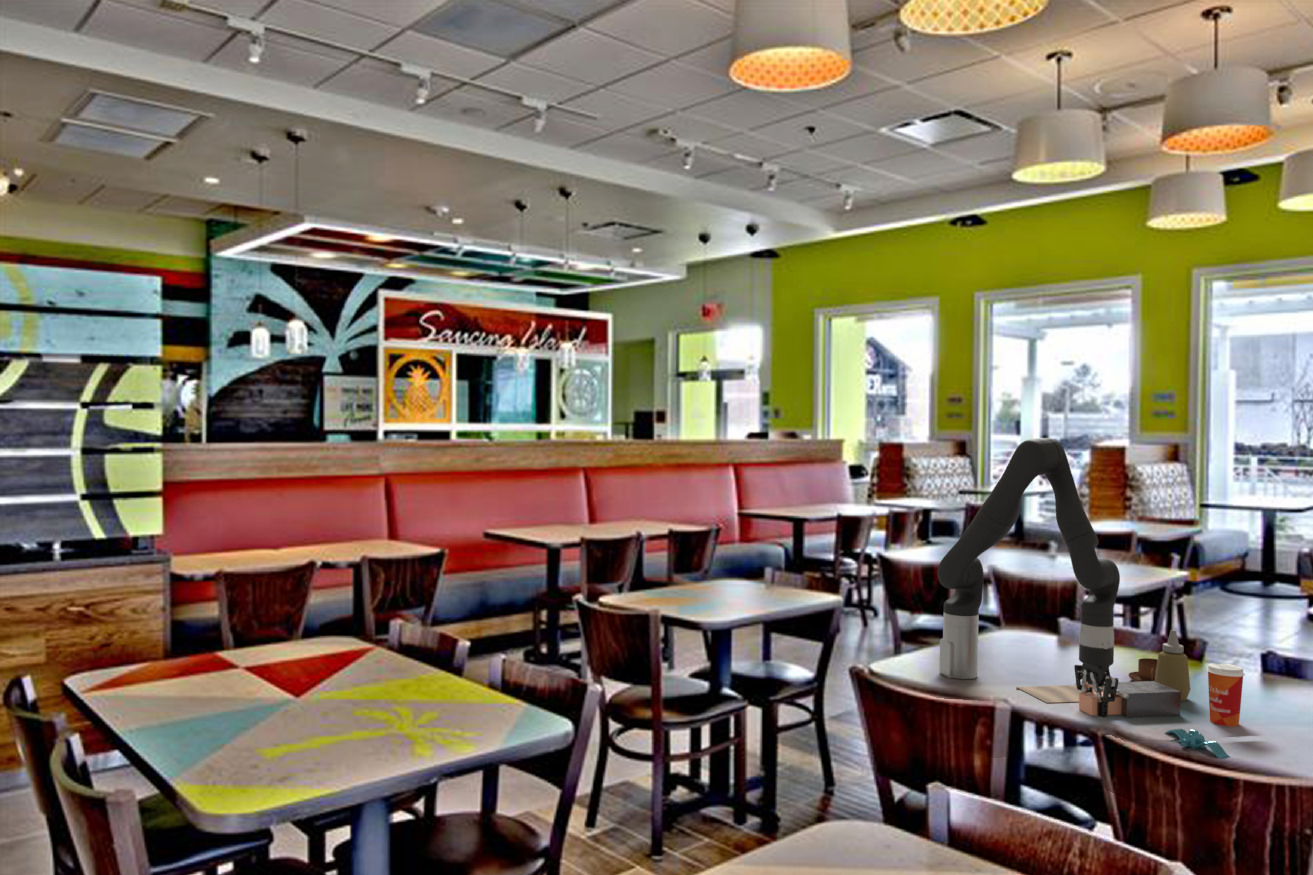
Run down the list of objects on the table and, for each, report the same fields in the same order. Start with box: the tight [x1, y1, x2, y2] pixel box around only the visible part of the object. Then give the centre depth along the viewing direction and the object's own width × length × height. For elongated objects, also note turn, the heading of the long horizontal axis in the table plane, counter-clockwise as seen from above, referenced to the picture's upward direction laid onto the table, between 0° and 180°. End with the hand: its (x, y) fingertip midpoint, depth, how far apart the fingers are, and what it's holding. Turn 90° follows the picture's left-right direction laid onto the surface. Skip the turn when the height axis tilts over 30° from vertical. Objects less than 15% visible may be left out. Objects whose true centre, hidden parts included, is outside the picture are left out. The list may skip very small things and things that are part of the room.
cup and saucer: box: [1128, 657, 1158, 682], centre depth 258 cm, size 12×12×6 cm
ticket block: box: [1078, 692, 1122, 717], centre depth 229 cm, size 18×5×4 cm, turn 99°
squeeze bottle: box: [1155, 629, 1191, 702], centre depth 241 cm, size 8×8×18 cm
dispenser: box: [1100, 681, 1182, 719], centre depth 230 cm, size 15×10×7 cm
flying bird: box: [1163, 728, 1231, 760], centre depth 207 cm, size 15×7×4 cm, turn 20°
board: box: [1015, 684, 1101, 704], centre depth 244 cm, size 26×14×1 cm, turn 100°
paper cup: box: [1205, 662, 1246, 727], centre depth 221 cm, size 8×8×14 cm
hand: (1094, 713), depth 228 cm, fingers closed on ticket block, 5 cm apart
